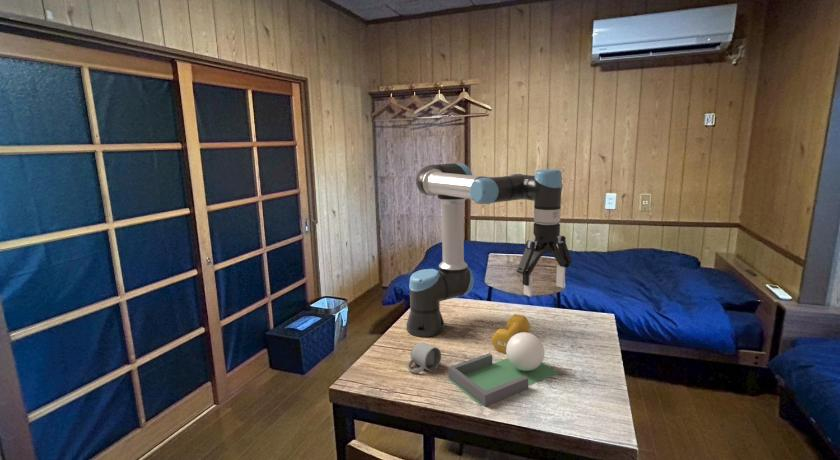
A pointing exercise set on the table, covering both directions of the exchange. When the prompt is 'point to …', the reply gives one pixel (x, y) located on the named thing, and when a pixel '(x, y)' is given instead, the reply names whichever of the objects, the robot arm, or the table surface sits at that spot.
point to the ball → (525, 351)
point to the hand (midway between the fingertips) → (544, 290)
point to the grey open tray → (476, 391)
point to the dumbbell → (510, 331)
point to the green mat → (505, 375)
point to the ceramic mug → (424, 357)
